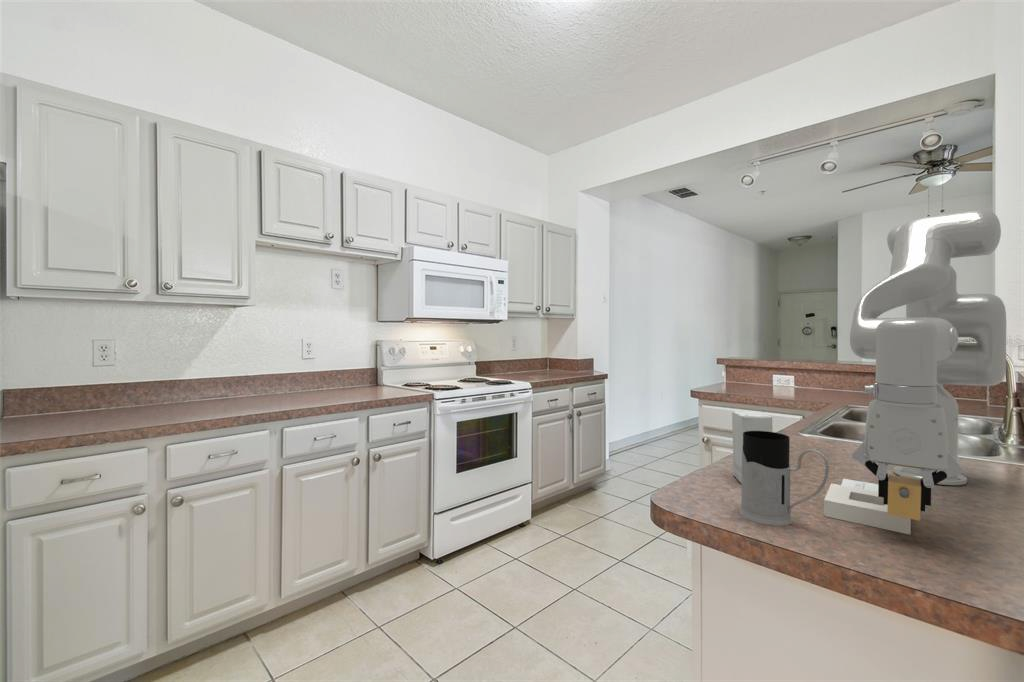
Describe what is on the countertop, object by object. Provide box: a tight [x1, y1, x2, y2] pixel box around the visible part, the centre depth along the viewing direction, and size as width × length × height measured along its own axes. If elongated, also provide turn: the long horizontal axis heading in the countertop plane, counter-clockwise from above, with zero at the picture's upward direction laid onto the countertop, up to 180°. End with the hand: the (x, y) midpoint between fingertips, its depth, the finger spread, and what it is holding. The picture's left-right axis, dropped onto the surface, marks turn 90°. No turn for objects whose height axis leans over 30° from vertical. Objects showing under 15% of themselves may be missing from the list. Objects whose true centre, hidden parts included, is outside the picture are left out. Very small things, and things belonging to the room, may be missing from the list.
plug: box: [887, 473, 921, 522], centre depth 74 cm, size 6×4×6 cm
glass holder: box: [738, 431, 830, 527], centre depth 82 cm, size 9×14×15 cm, turn 41°
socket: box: [823, 482, 912, 535], centre depth 84 cm, size 12×12×3 cm
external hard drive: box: [840, 478, 878, 492], centre depth 95 cm, size 2×8×12 cm
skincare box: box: [731, 410, 773, 485], centre depth 103 cm, size 8×7×16 cm
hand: (903, 504), depth 75 cm, fingers closed on plug, 3 cm apart
